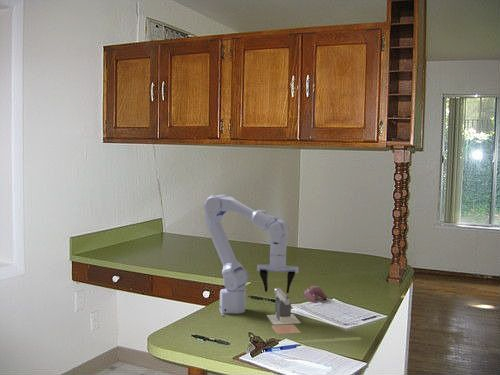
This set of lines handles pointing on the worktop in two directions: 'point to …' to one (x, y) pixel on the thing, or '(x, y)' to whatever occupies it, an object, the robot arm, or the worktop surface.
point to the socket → (283, 320)
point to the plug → (283, 310)
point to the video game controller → (314, 293)
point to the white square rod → (282, 296)
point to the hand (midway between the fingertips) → (276, 291)
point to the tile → (285, 329)
